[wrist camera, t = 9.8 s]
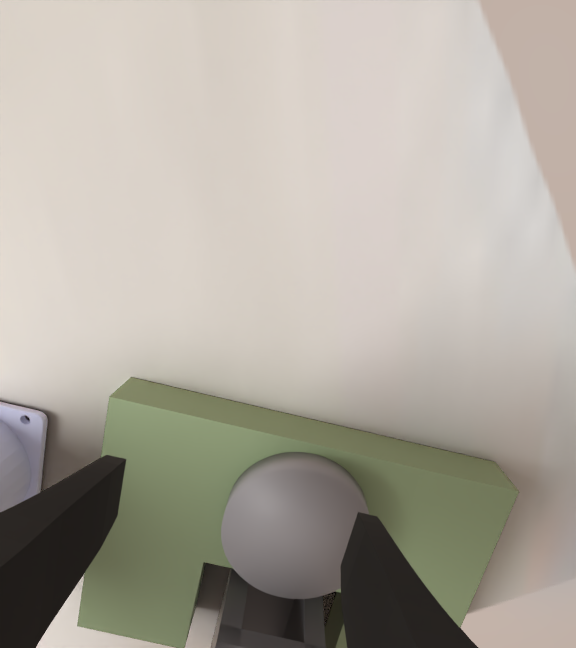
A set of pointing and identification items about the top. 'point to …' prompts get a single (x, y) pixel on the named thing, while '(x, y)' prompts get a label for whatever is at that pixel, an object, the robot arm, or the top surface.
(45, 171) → the top surface
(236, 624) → the chute
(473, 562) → the notched green slab
